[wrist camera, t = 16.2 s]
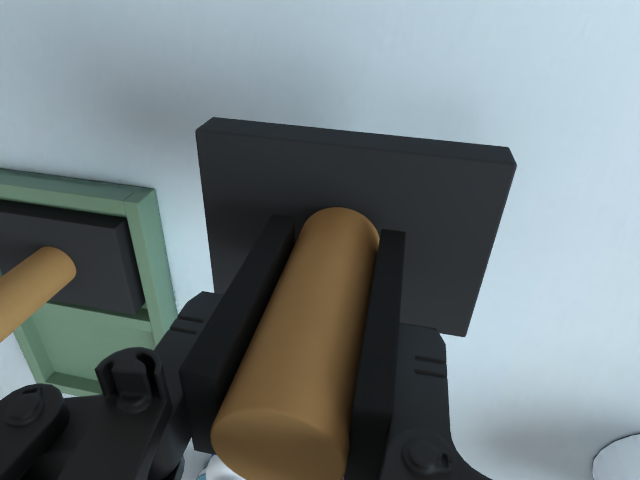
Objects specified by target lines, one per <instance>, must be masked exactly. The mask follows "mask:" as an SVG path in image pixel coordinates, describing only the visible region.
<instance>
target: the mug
mask: <svg viewBox="0 0 640 480" xmlns="http://www.w3.org/2000/svg"><path fill="white" fill-rule="evenodd" d="M592 474H593V477H594V480H640V434H639V435H632V436H629V437H626V438H623V439H621V440H618V441H615V442H613V443H611V444H610V445H608V446H607V447H605V448H604V449H602V450H601V451H600V452H599V454H598V455H597V457H596V458H595V459H594V462H593V470H592Z"/></svg>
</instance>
